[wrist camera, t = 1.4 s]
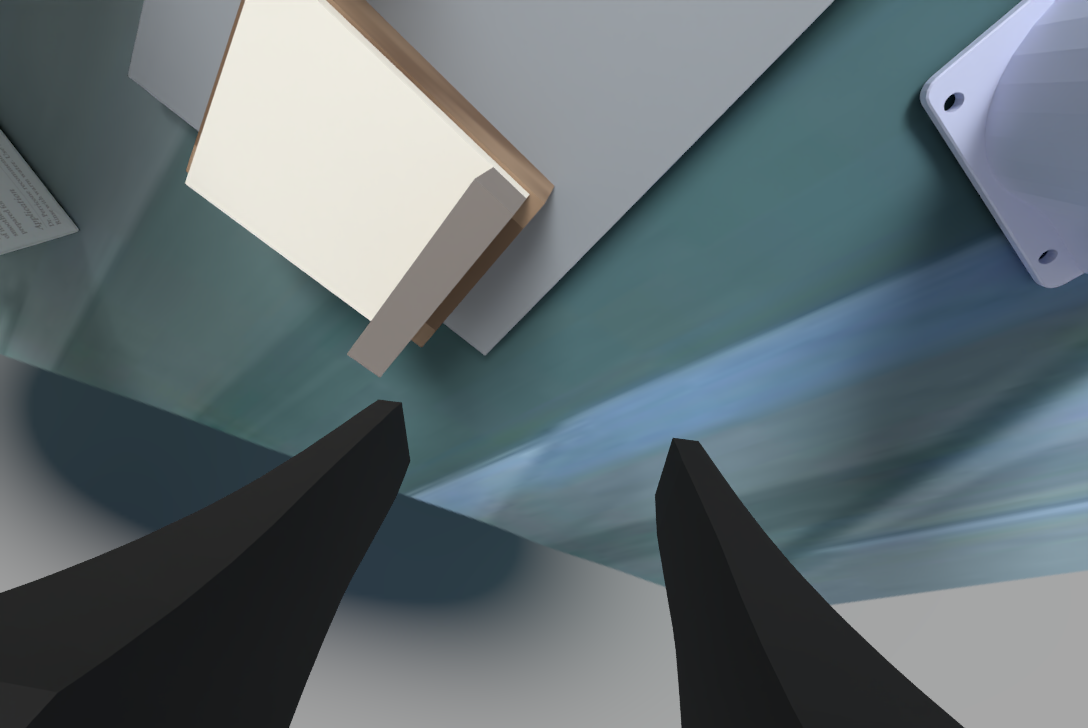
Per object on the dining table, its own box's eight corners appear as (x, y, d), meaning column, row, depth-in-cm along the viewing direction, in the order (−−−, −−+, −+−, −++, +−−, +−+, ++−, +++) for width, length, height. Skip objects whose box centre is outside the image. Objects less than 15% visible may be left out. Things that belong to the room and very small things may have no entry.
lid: (529, 194, 12) (513, 215, 10) (411, 338, 16) (379, 377, 13) (279, -45, 10) (190, -84, 8) (200, 180, 13) (121, 196, 11)
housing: (554, 185, 15) (544, 203, 13) (446, 313, 18) (421, 347, 16) (331, -34, 13) (262, -67, 10) (252, 159, 16) (185, 170, 13)
